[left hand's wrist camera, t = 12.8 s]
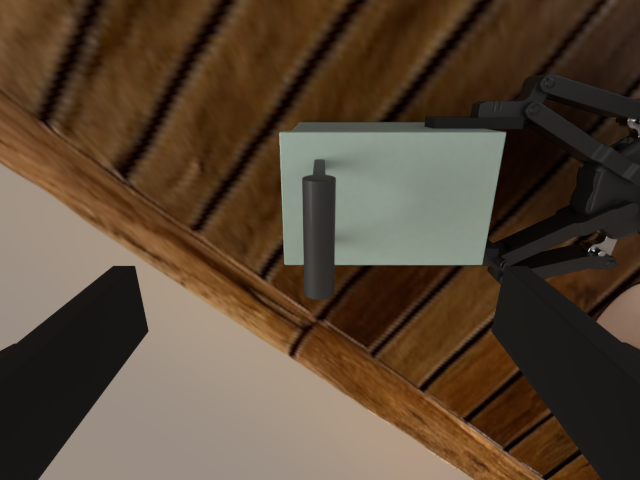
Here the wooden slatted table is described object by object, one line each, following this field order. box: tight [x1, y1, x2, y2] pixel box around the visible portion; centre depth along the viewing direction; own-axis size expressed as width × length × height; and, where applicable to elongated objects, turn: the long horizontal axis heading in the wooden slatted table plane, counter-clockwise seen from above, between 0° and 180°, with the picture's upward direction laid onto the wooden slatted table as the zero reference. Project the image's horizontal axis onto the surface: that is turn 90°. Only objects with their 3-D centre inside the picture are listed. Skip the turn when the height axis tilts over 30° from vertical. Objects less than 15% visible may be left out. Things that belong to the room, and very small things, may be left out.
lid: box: [279, 131, 506, 300], centre depth 22 cm, size 15×10×9 cm, turn 90°
